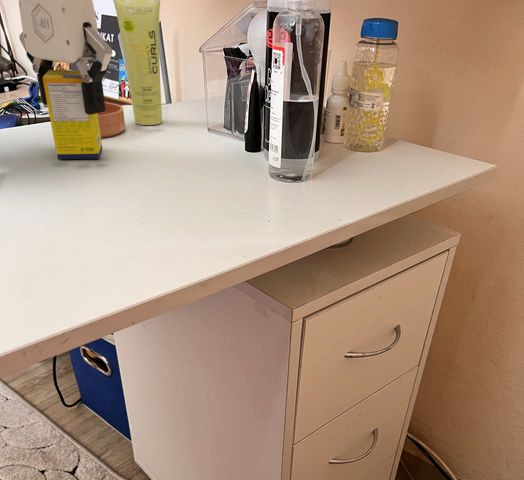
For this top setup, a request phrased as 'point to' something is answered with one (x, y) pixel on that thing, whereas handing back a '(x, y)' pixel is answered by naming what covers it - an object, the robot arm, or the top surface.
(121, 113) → the shallow terracotta bowl
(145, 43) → the tube
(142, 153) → the top surface
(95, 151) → the supplement box
